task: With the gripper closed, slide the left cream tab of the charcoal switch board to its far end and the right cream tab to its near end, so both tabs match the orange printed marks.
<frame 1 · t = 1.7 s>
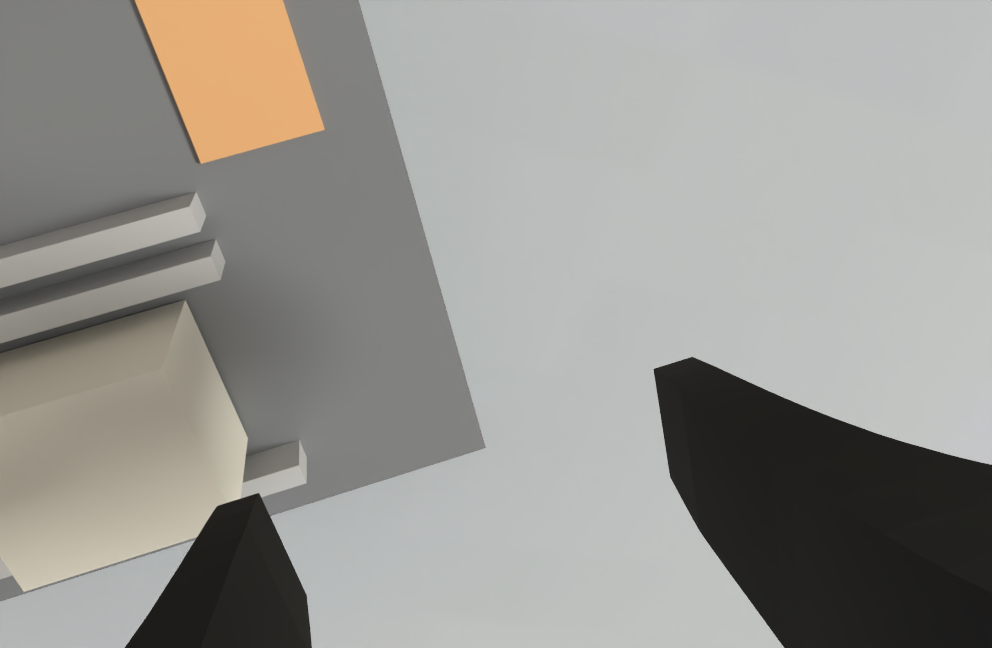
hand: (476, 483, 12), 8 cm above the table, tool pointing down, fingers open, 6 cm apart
tab a: (108, 439, 15), point 4 cm above the table, slide at -3.0 cm
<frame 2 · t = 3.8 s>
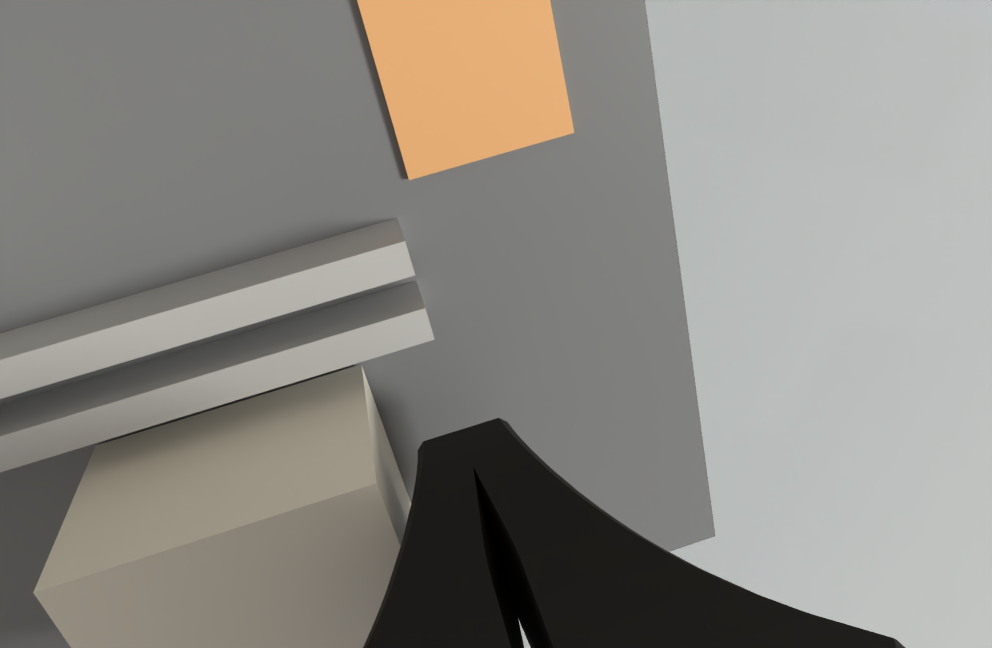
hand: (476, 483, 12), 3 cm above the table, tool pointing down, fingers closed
switch board: (38, 328, 13), on the table
tab a: (267, 559, 11), point 4 cm above the table, slide at -2.8 cm, touching gripper
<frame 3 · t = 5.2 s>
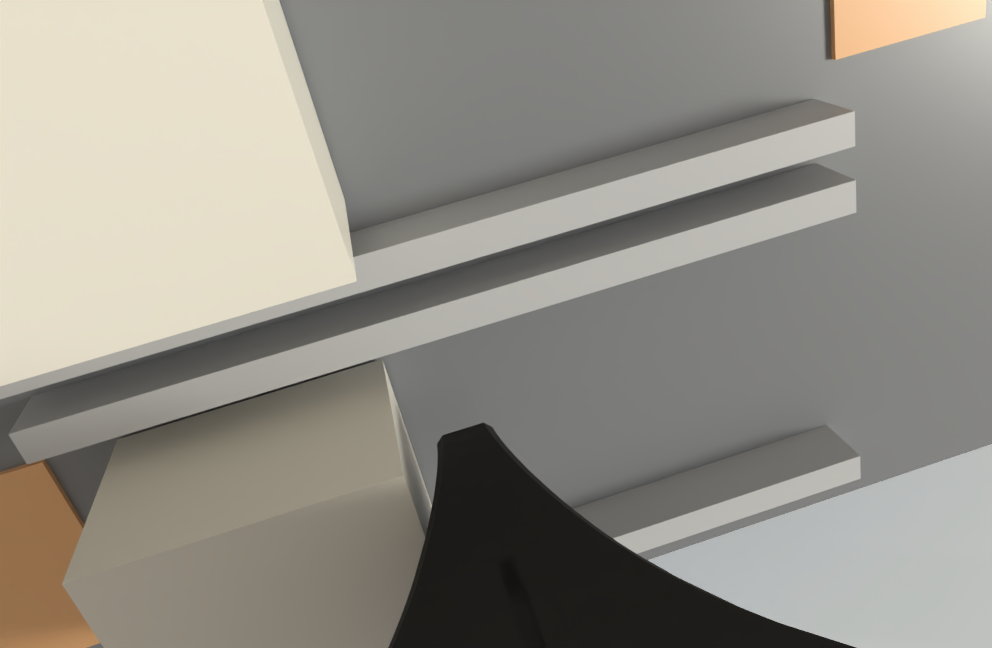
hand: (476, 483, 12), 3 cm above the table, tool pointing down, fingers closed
tab b: (120, 138, 9), point 4 cm above the table, slide at 3.0 cm
switch board: (420, 217, 13), on the table
tab a: (289, 552, 11), point 4 cm above the table, slide at 3.2 cm, touching gripper
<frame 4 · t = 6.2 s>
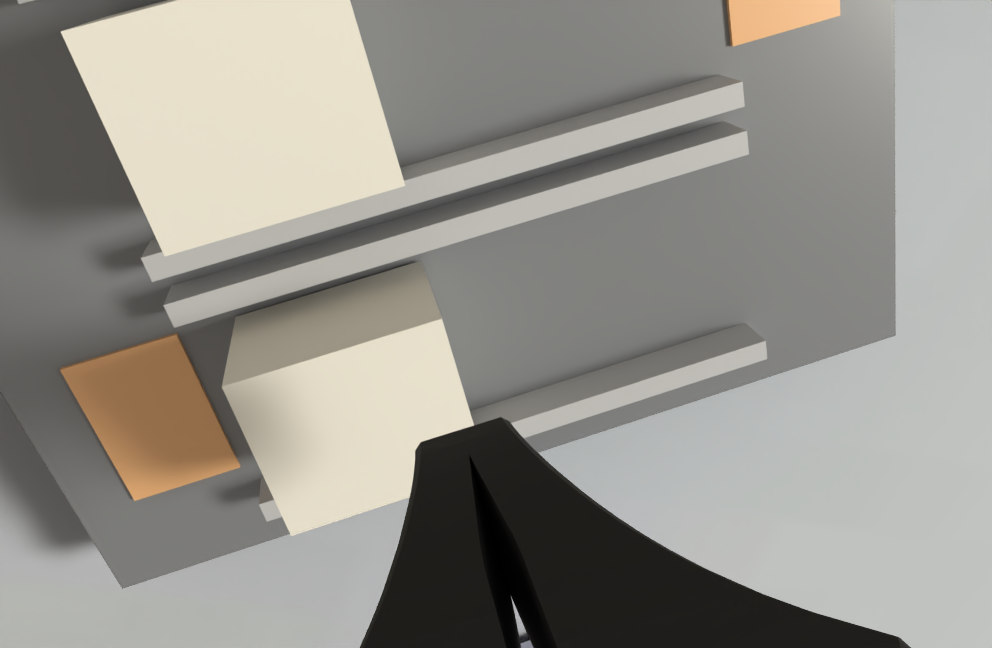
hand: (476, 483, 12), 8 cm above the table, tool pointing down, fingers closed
tab b: (252, 98, 14), point 4 cm above the table, slide at 3.0 cm
switch board: (439, 166, 18), on the table
tab a: (358, 392, 16), point 4 cm above the table, slide at 3.1 cm
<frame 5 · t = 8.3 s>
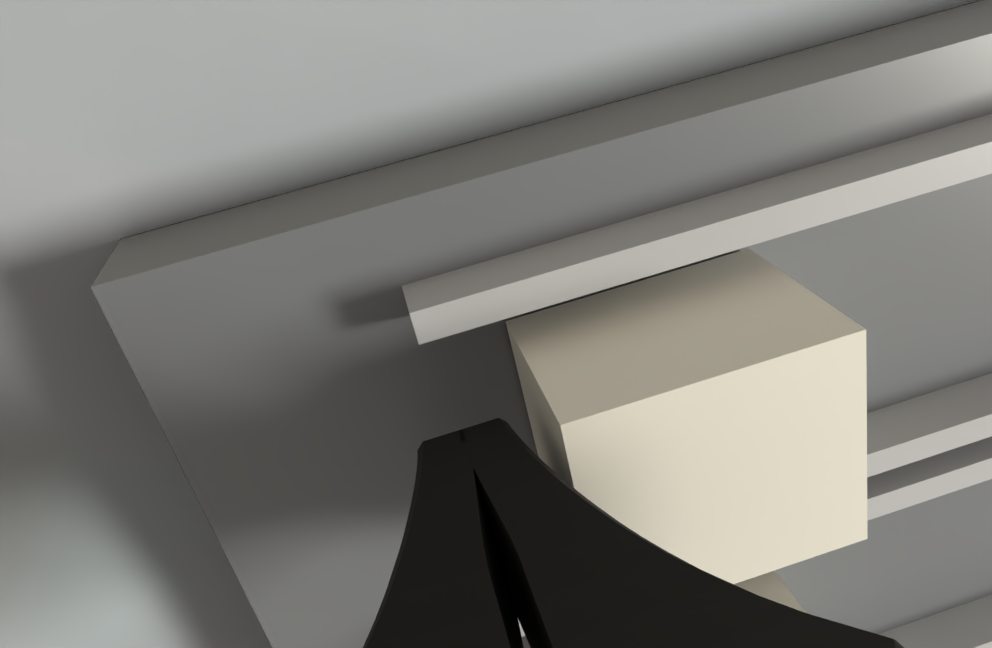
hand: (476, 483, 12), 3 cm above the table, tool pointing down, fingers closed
tab b: (681, 426, 12), point 4 cm above the table, slide at 2.6 cm, touching gripper
switch board: (744, 413, 17), on the table
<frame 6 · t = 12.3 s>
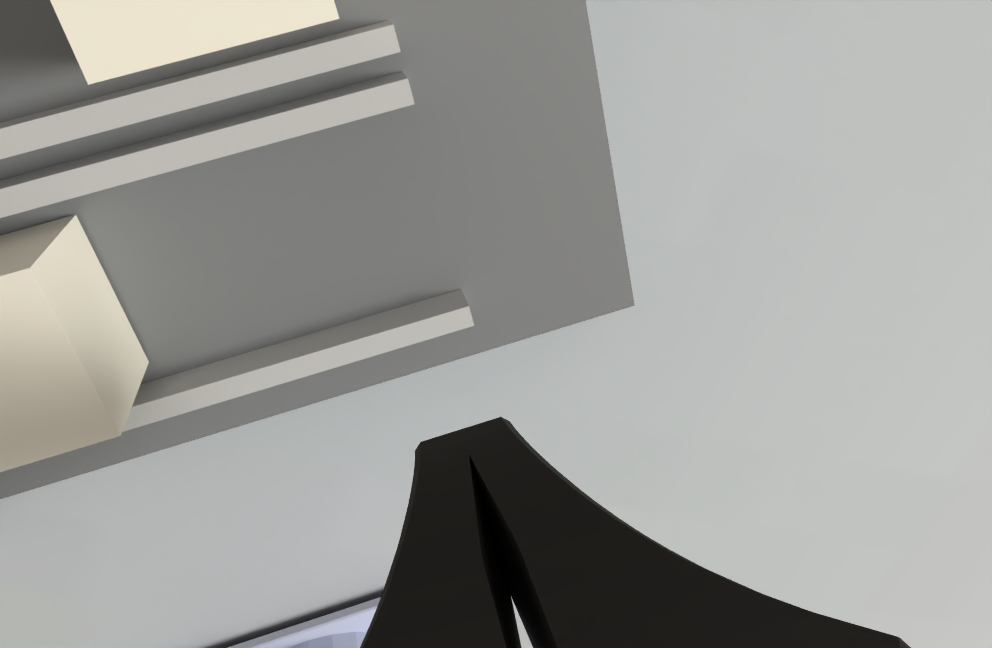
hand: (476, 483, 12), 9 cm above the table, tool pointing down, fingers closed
switch board: (122, 119, 17), on the table
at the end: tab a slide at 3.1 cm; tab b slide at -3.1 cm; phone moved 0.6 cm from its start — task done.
